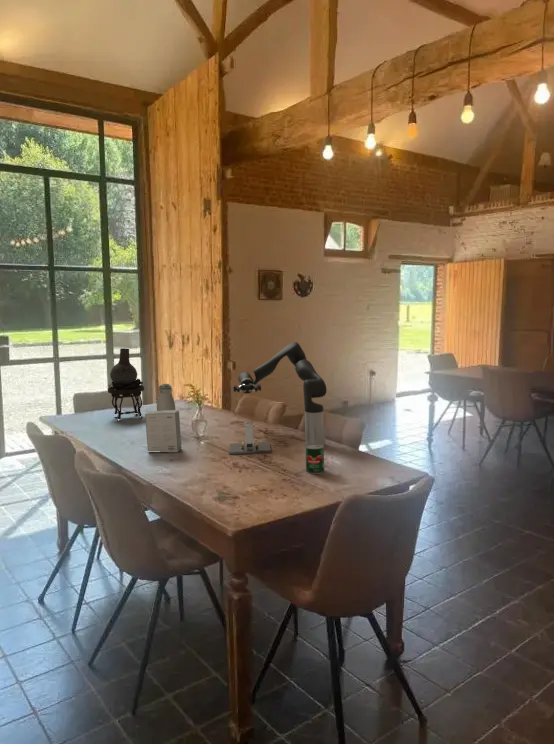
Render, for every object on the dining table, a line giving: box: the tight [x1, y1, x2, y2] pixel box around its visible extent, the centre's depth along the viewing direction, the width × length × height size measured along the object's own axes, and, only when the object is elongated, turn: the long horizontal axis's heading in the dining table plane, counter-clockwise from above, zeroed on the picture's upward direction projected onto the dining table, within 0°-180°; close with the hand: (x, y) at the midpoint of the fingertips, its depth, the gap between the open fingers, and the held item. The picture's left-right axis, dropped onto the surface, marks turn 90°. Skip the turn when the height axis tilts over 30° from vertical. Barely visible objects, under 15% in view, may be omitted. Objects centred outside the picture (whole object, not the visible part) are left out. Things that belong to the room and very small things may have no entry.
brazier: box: [107, 348, 145, 419], centre depth 368 cm, size 22×22×45 cm
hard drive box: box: [144, 409, 182, 453], centre depth 284 cm, size 16×8×20 cm, turn 84°
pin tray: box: [228, 438, 272, 455], centre depth 283 cm, size 16×20×4 cm
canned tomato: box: [305, 444, 325, 475], centre depth 244 cm, size 8×8×11 cm
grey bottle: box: [156, 383, 176, 411], centre depth 323 cm, size 10×10×28 cm
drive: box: [244, 421, 255, 449], centre depth 283 cm, size 6×4×12 cm, turn 3°
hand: (247, 390), depth 291 cm, fingers open, 8 cm apart
